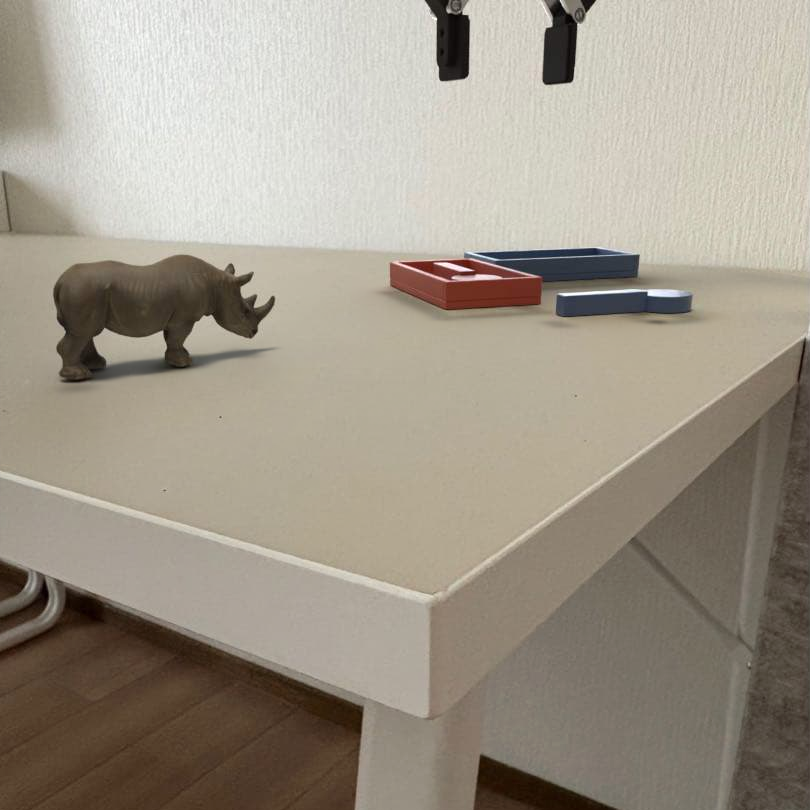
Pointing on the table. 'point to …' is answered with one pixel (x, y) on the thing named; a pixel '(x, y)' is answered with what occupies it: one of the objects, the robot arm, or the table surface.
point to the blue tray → (565, 262)
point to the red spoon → (457, 272)
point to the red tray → (466, 284)
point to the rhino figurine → (148, 306)
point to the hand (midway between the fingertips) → (507, 82)
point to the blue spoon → (623, 302)
